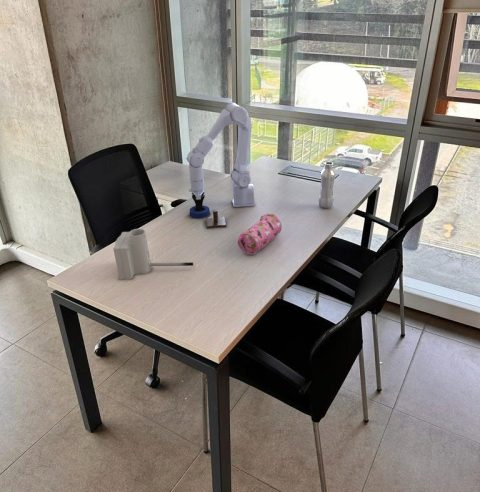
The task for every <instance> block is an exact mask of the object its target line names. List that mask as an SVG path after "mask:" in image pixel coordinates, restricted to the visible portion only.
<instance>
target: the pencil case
mask: <svg viewBox="0 0 480 492" xmlns="http://www.w3.org/2000/svg"><path fill="white" fill-rule="evenodd" d="M282 225H283V224H282V222H281V220H280V218H279V217H278V215H276V214H274V213H265V214H263V215H261V216H260V219H259V220H258V221H257V222H255V223H254V224H253V225H251V227H249V228H248V229H247V228H246V230H244V231H242V232H241V233H240V234H239V237H238V239H237V246H238V248H239V249H240V250H241V251H242V252H243V253H245V254H247V255H251V256H253V255H256V254H258V252H259V251H260V250H262V249H263V248H266V247H267V246H268V245H269V244H270V243H272V241H273V240H275V238H276V237H277V236H278V235H279V234H280V233H281V231H282V228H283V227H282Z"/></svg>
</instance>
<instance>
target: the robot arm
mask: <svg viewBox="0 0 480 492" xmlns="http://www.w3.org/2000/svg"><path fill="white" fill-rule="evenodd" d="M234 124H236V125H237V126H238V136H237V146H236V157H235V158H236V159H235V164H233V168H232V171H231V172H230V179H231V180H232V181H233V182H232V195H233V197H232V198H233V199H231V201H232V207H233V208H244V207H245V208H246V207H254V206H255V189H254V188H255V187H254V184H252V183H251V181H252V179H251V176H250V168H249V157H250V146H251V137H252V128H253V124H252V120H251V119H250V116H249V112H248V110H246V108H244V107H243V106H240V105H238V104H237V103H236V102H229V103H227V104H226V105H225V107H224V108H223V109H222V110H221V112H220V114H219V116H218V118H217V119H216V121H215V123H214V124H213V125H212V127H211V128H210V130H209V132H208V133H207V135H203V136H202V137H199V138H198V142H197V144H196V145H195V146H194V147H193V148H192V149H191V151H189V152H188V154H187V157H186V161H187V163H188V169H189V180H190V188H188V193H191V199H192V200H193V202H194V204H195V205H194V206H196V208H197V210H202V205H204V200H205V198H206V195H205V191H206V189H205V188H206V187H205V180H204V168H203V165H204V163H205V158H206V156H207V154H209V152H210V151H211V149H212V148H213V147H214V146H215V144H214V142H215V140H216V138H217V137H218V136H219V135H220V133H221V132H222V131H223V130H224V129H225V127H226V126H231V125H234Z"/></svg>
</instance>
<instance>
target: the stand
mask: <svg viewBox="0 0 480 492" xmlns="http://www.w3.org/2000/svg"><path fill="white" fill-rule="evenodd" d="M205 222H206V229H218V228H219V229H220V228H226V227H227V223H226V218H225V216H219V211H218V209H213V210H212V217H205Z"/></svg>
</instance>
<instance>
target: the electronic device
mask: <svg viewBox="0 0 480 492" xmlns="http://www.w3.org/2000/svg"><path fill="white" fill-rule="evenodd" d="M113 254H114V259H115V262H116V263H115V264H116V268H117V269H116V270H117V274H118V278H119V280H132V279H133V278H134V276H135V275H144V274H147V273H150V272H151V271H152V267H194V262H191V261H190V262H152V259H151V257H150V251H149V244H148V239H147V231H146V230H145V229H143V228H134V229H131V230H130V231H122V232H121V234H120V235H119V236H118V237H117V238H116V240H115V245H114V247H113Z"/></svg>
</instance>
